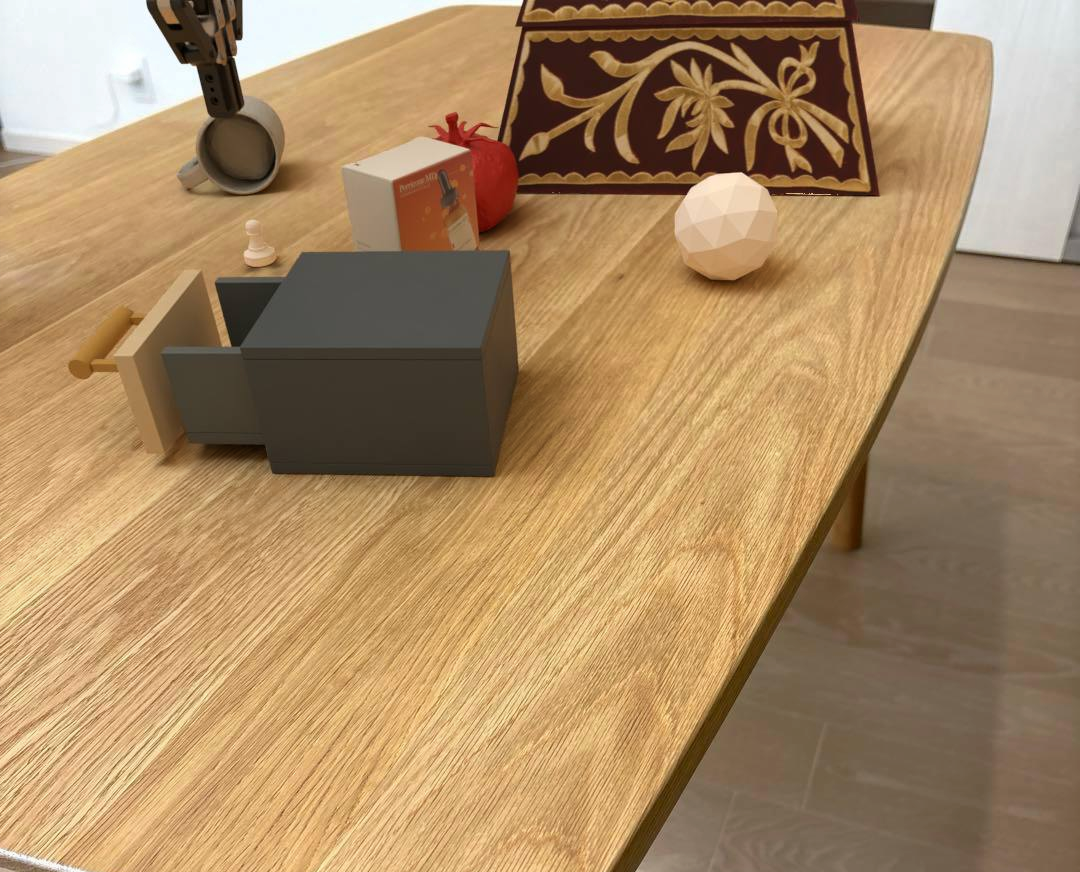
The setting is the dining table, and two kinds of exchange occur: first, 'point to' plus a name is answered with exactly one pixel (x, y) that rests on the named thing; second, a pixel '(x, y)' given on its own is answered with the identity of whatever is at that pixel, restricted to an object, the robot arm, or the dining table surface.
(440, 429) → the cabinet
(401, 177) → the small box
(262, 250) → the chess pawn
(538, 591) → the dining table surface
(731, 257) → the geometric ball
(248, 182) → the ceramic mug
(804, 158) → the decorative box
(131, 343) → the drawer
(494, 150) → the pomegranate
